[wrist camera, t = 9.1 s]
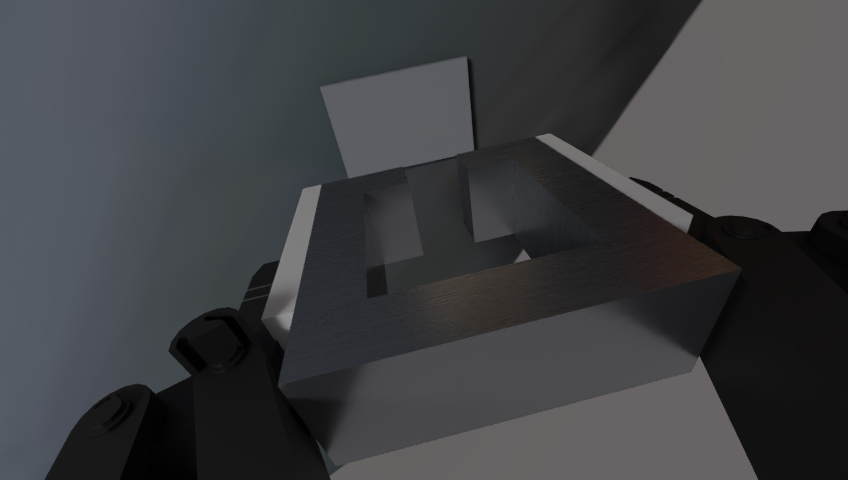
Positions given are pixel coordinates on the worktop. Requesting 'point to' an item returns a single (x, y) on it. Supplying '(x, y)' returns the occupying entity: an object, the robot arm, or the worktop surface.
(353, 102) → the pad
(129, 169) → the worktop surface
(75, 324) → the worktop surface
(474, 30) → the worktop surface
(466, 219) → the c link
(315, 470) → the robot arm
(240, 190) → the worktop surface
